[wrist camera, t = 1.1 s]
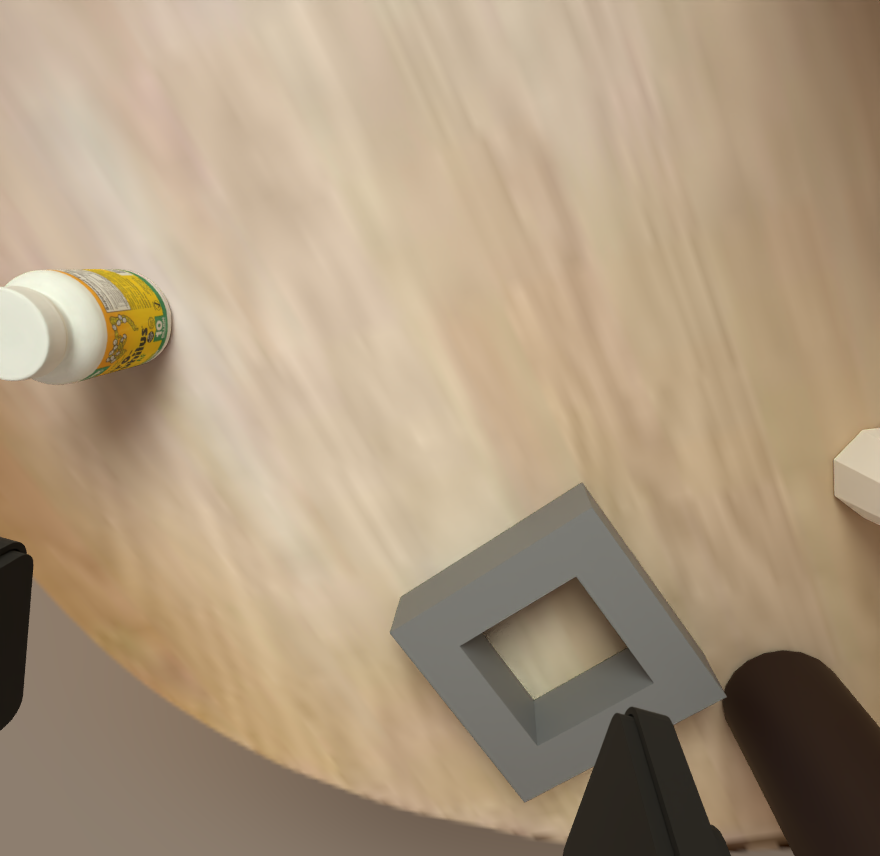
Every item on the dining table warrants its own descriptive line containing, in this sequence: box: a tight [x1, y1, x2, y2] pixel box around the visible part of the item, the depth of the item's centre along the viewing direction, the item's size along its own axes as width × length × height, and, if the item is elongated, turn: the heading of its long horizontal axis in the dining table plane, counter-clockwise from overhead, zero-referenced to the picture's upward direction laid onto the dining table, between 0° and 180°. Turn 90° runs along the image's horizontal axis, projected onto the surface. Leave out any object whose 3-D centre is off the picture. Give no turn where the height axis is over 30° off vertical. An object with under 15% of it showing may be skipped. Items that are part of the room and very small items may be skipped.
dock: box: [390, 483, 727, 802], centre depth 37 cm, size 13×13×4 cm
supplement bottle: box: [0, 269, 171, 385], centre depth 32 cm, size 5×5×10 cm
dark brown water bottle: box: [723, 651, 880, 856], centre depth 29 cm, size 7×7×20 cm
